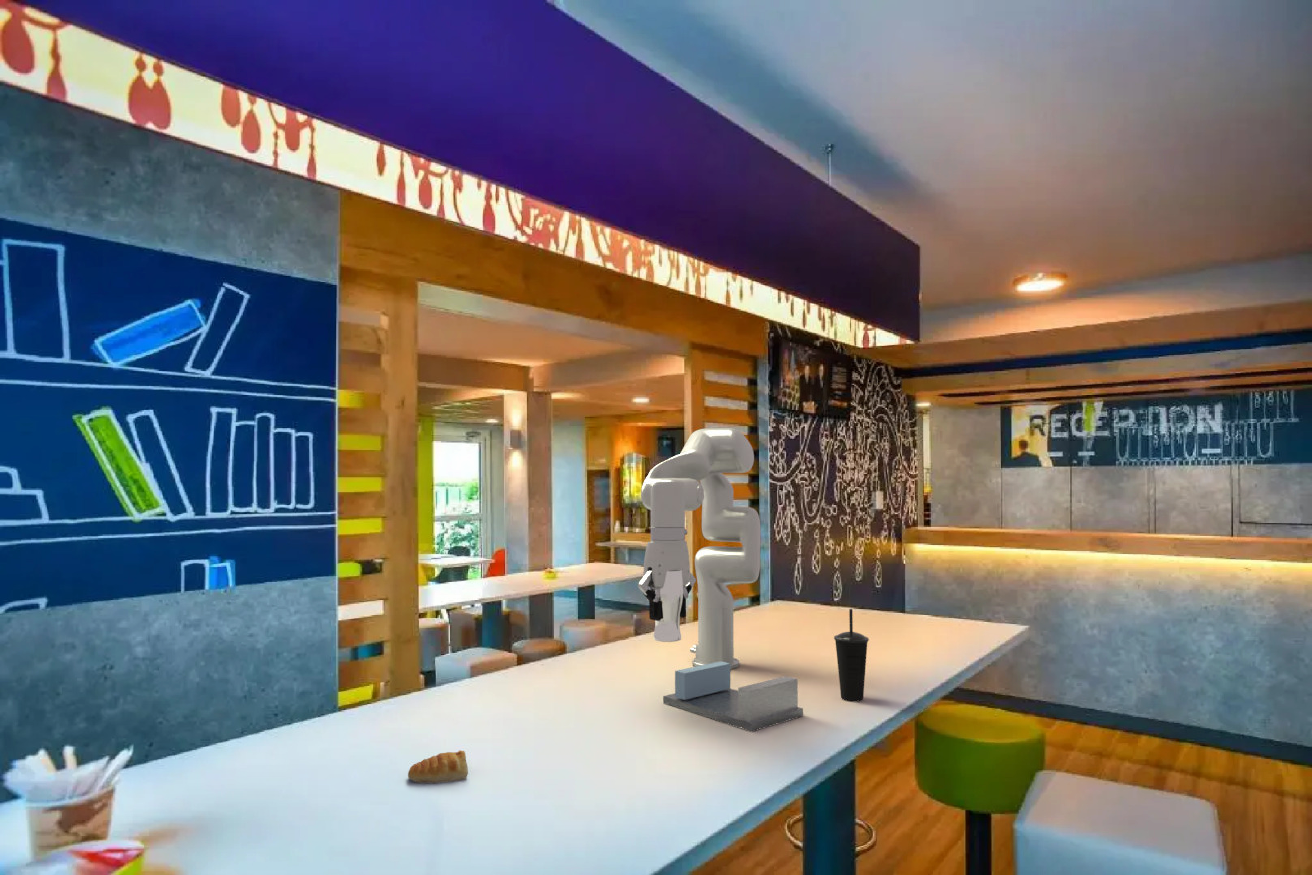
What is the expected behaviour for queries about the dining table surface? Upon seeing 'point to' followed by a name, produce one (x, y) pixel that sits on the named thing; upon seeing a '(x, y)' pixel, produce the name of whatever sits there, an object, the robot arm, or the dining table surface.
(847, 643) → the drinking cup
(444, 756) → the pastry
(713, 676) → the bar
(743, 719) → the vise base
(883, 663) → the dining table surface
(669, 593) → the beer glass
